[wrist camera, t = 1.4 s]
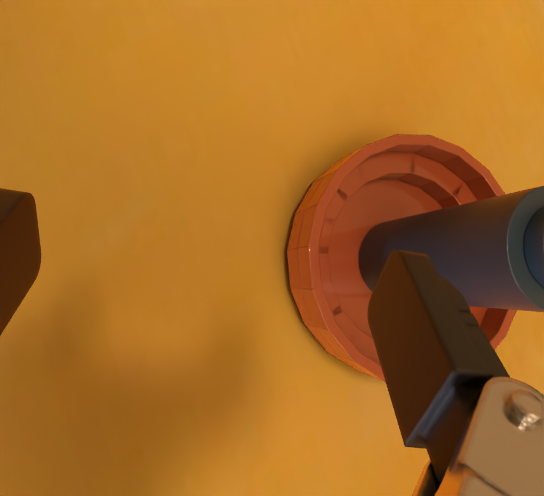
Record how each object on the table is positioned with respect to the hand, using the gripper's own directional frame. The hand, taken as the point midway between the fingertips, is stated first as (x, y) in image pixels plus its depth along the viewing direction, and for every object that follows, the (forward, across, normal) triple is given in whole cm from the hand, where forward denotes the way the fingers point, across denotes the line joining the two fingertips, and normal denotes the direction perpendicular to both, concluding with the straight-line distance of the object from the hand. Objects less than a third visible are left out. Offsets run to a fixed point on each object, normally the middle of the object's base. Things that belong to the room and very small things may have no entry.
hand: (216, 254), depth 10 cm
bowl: (+18, -13, +12) cm, 25 cm away
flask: (+17, -13, +11) cm, 24 cm away
